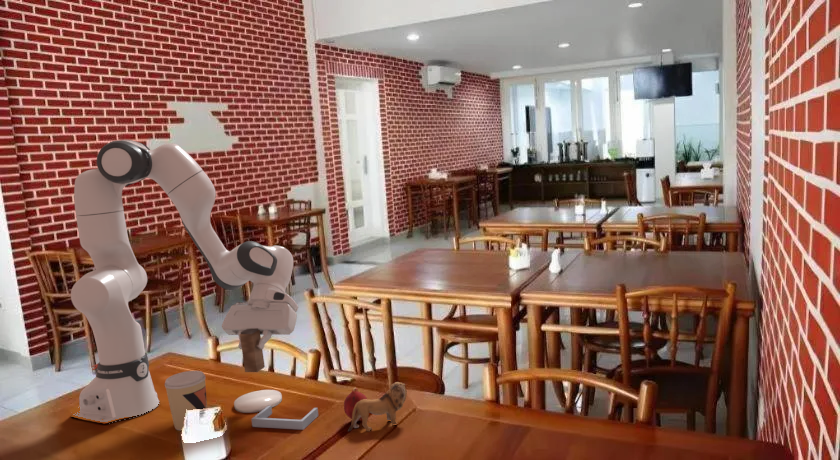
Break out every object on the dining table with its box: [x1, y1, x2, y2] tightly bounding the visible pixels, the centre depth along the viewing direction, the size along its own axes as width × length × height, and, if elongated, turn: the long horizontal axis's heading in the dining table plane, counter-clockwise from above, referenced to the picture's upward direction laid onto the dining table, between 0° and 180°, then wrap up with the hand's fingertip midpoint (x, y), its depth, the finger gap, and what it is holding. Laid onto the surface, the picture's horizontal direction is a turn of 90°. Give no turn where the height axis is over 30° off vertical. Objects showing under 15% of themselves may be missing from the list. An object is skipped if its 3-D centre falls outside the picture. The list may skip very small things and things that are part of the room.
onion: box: [343, 387, 368, 422], centre depth 147 cm, size 6×6×8 cm
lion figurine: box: [347, 381, 408, 432], centre depth 144 cm, size 15×5×9 cm, turn 112°
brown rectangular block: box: [239, 328, 266, 373], centre depth 163 cm, size 4×4×10 cm
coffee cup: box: [164, 370, 208, 431], centre depth 155 cm, size 9×9×12 cm
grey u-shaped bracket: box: [250, 406, 319, 431], centre depth 151 cm, size 14×8×2 cm, turn 72°
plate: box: [233, 389, 283, 414], centre depth 165 cm, size 12×12×1 cm
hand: (250, 348), depth 162 cm, fingers closed on brown rectangular block, 4 cm apart
